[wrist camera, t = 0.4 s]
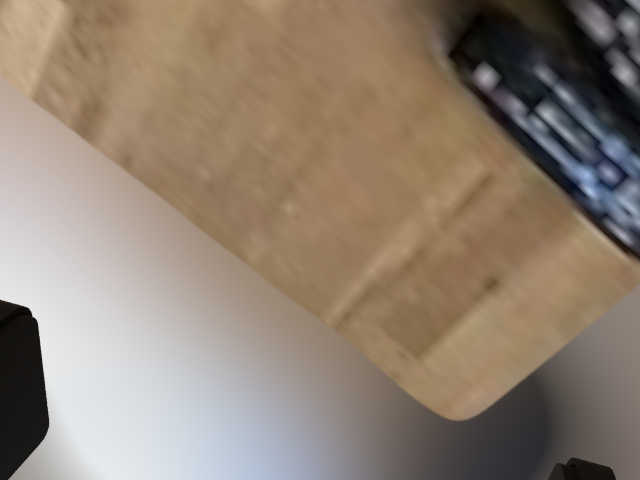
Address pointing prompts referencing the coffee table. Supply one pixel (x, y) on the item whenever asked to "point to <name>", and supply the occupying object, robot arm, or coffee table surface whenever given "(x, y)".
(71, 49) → the coffee table surface
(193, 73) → the coffee table surface
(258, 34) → the coffee table surface
